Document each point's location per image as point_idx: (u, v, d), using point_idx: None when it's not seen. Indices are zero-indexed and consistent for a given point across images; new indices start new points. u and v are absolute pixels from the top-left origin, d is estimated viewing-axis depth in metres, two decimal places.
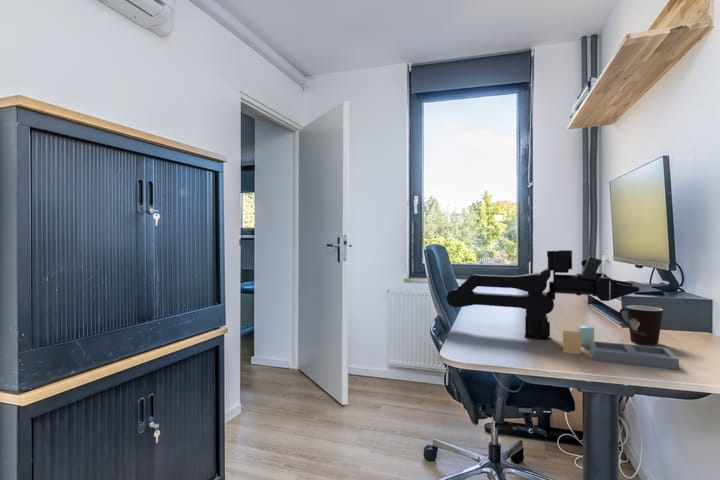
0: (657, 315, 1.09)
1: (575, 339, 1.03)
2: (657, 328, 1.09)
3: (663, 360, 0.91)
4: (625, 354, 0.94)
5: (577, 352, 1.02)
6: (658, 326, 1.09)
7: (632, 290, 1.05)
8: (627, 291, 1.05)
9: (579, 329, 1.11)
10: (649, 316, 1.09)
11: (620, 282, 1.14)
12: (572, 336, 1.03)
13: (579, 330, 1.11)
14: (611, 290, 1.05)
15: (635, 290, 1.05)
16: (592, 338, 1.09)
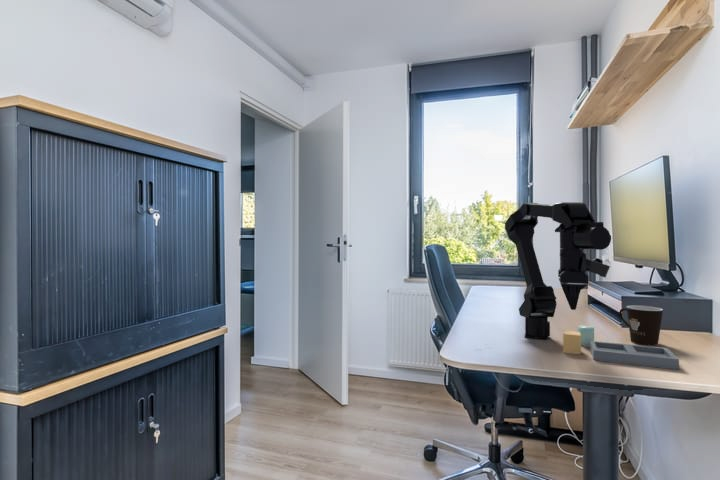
0: (657, 315, 1.09)
1: (575, 339, 1.02)
2: (657, 328, 1.09)
3: (663, 360, 0.91)
4: (625, 354, 0.94)
5: (577, 352, 1.02)
6: (658, 326, 1.09)
7: (572, 303, 1.00)
8: (570, 299, 1.00)
9: (579, 329, 1.11)
10: (649, 316, 1.09)
11: None
12: (572, 336, 1.03)
13: (579, 330, 1.11)
14: (572, 285, 0.97)
15: (572, 306, 1.00)
16: (592, 338, 1.09)
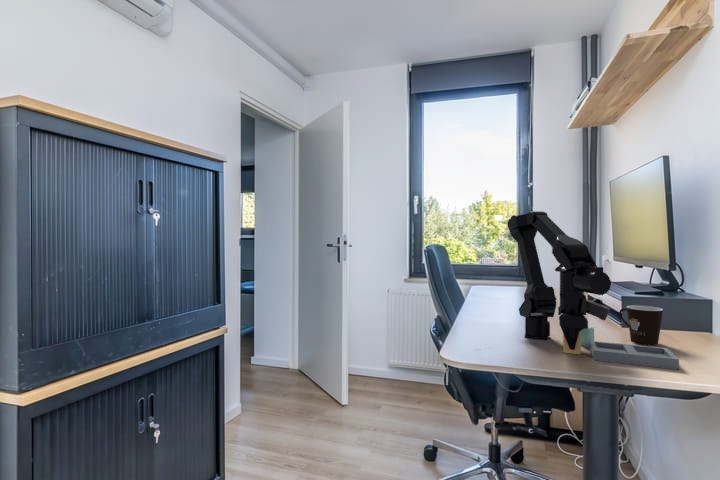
0: (657, 315, 1.09)
1: None
2: (657, 328, 1.09)
3: (663, 360, 0.91)
4: (625, 354, 0.94)
5: (577, 352, 1.02)
6: (658, 326, 1.09)
7: (571, 344, 1.02)
8: (569, 339, 1.02)
9: None
10: (649, 316, 1.09)
11: None
12: None
13: None
14: (571, 326, 1.00)
15: (571, 346, 1.02)
16: (592, 338, 1.09)
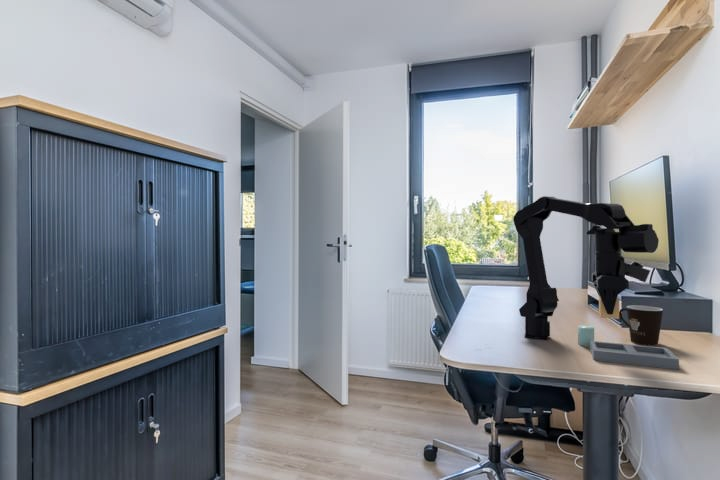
0: (657, 315, 1.09)
1: None
2: (657, 328, 1.09)
3: (663, 360, 0.91)
4: (625, 354, 0.94)
5: (615, 316, 0.98)
6: (658, 326, 1.09)
7: (608, 308, 0.97)
8: (607, 303, 0.97)
9: (579, 329, 1.11)
10: (649, 316, 1.09)
11: None
12: None
13: (579, 330, 1.11)
14: (610, 289, 0.95)
15: (608, 311, 0.98)
16: (592, 338, 1.09)
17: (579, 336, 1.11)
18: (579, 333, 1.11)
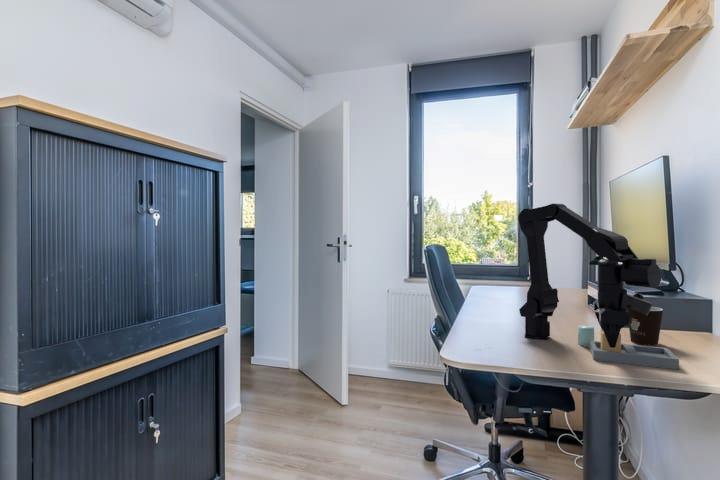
0: (657, 315, 1.09)
1: None
2: (657, 328, 1.09)
3: (663, 360, 0.91)
4: (625, 354, 0.94)
5: None
6: (658, 326, 1.09)
7: (611, 341, 0.97)
8: (610, 337, 0.96)
9: (579, 329, 1.11)
10: (649, 316, 1.09)
11: None
12: None
13: (579, 330, 1.11)
14: (613, 323, 0.94)
15: (611, 344, 0.97)
16: (592, 338, 1.09)
17: (579, 336, 1.11)
18: (579, 333, 1.11)
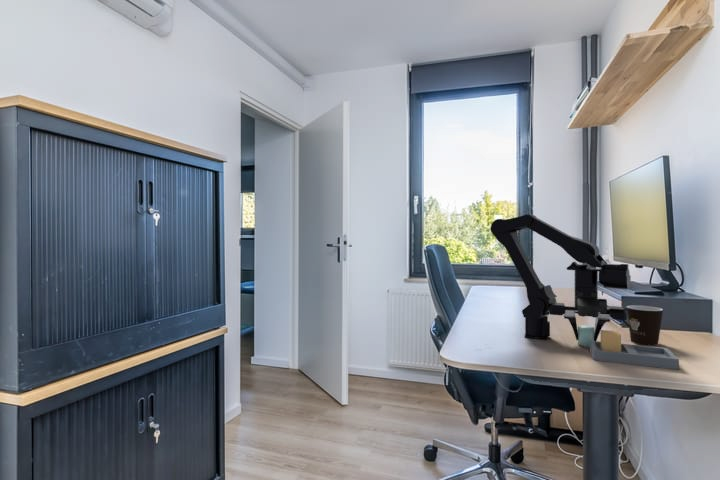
0: (657, 315, 1.09)
1: (615, 339, 0.98)
2: (657, 328, 1.09)
3: (663, 360, 0.91)
4: (625, 354, 0.94)
5: None
6: (658, 326, 1.09)
7: None
8: None
9: (579, 329, 1.11)
10: (649, 316, 1.09)
11: (595, 332, 1.09)
12: (611, 336, 0.98)
13: (579, 330, 1.11)
14: None
15: (575, 336, 1.12)
16: (592, 338, 1.09)
17: (579, 336, 1.11)
18: (579, 333, 1.11)
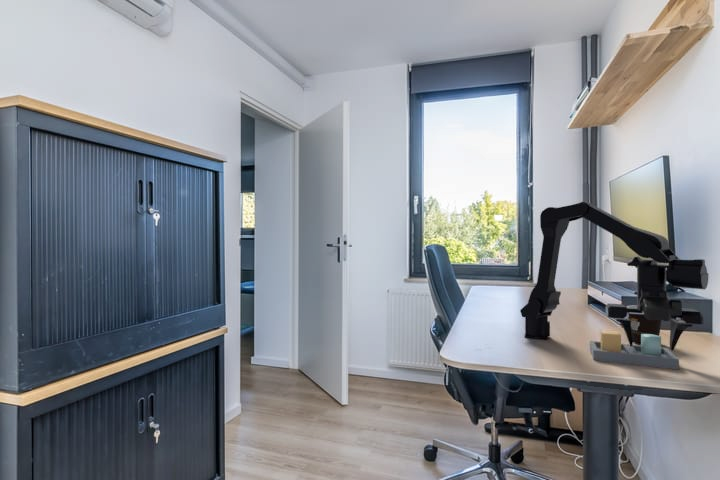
0: None
1: (615, 339, 0.98)
2: (657, 328, 1.09)
3: (663, 360, 0.91)
4: (625, 354, 0.94)
5: None
6: (658, 326, 1.09)
7: None
8: (626, 334, 0.99)
9: (643, 338, 0.96)
10: None
11: (672, 338, 0.94)
12: (611, 336, 0.98)
13: (643, 339, 0.96)
14: None
15: None
16: (659, 349, 0.94)
17: (643, 346, 0.96)
18: (643, 343, 0.96)
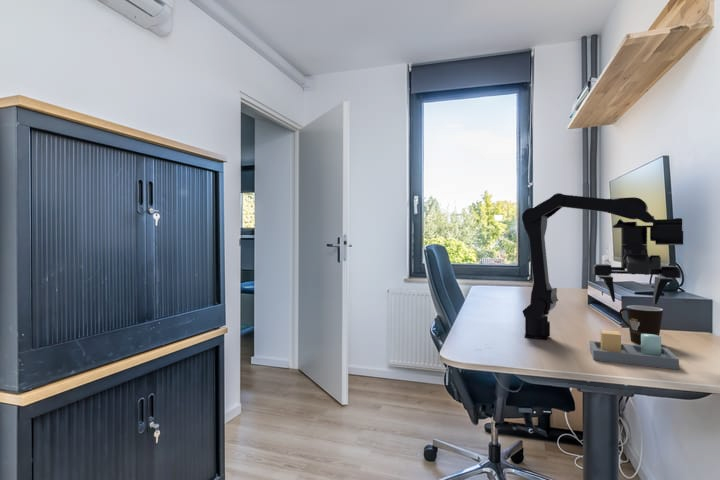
0: (657, 315, 1.09)
1: (615, 339, 0.98)
2: (657, 328, 1.09)
3: (663, 360, 0.91)
4: (625, 354, 0.94)
5: None
6: (658, 326, 1.09)
7: (610, 295, 1.07)
8: (609, 291, 1.07)
9: (643, 338, 0.96)
10: (649, 316, 1.09)
11: (655, 293, 1.02)
12: (611, 336, 0.98)
13: (643, 339, 0.96)
14: (598, 276, 1.08)
15: None
16: (659, 348, 0.95)
17: (643, 346, 0.96)
18: (643, 342, 0.96)
